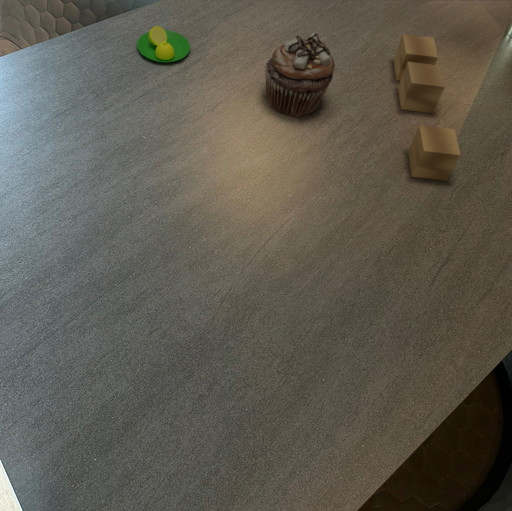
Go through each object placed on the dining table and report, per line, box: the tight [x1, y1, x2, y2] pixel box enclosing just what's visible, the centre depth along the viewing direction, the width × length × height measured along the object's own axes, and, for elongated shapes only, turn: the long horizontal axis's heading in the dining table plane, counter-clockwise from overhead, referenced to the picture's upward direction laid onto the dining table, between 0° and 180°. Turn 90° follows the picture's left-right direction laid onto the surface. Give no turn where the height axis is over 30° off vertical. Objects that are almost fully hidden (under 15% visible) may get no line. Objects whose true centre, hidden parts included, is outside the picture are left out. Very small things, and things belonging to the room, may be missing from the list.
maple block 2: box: [397, 62, 446, 114], centre depth 94 cm, size 5×5×5 cm
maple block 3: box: [407, 124, 461, 182], centre depth 86 cm, size 5×5×5 cm
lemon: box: [136, 25, 191, 63], centre depth 95 cm, size 8×8×3 cm
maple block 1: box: [392, 33, 439, 82], centre depth 98 cm, size 5×5×5 cm
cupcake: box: [264, 32, 336, 117], centre depth 89 cm, size 10×10×10 cm
